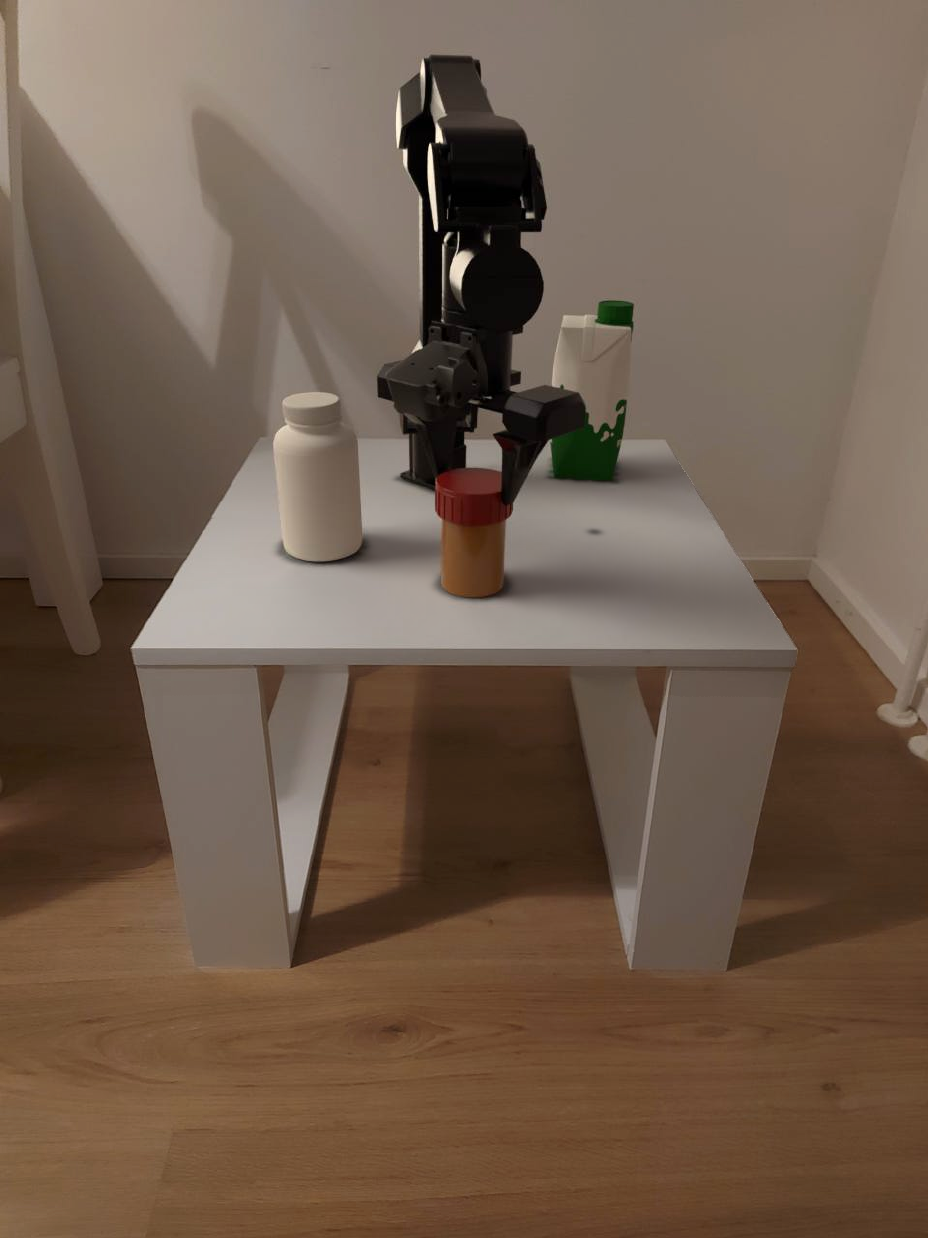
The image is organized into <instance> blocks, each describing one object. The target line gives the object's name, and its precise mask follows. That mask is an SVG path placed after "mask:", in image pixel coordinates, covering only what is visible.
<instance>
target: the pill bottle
mask: <svg viewBox="0 0 928 1238" xmlns="http://www.w3.org/2000/svg"><path fill="white" fill-rule="evenodd" d="M281 404H282V414H283V417H284V422H285V423H286V425H285V424H284V426H282V427H281V428H280V429H279V430H278V431H277V432H276V433H275V435H274V438H273V443H272V447H273V458H274V467H275V478H276V489H277V497H278V508H279V517H280V528H281V538H282V543H283V548H284V549H285V551H286V553H287V554H288V555H289V556H291V557H294V558H295V559H297V560H302V561H307V562H331V561H337V560H340V559H341V560H342V559H345V558H347V557H349V556H352V555H353V554H355V553H356V552H357V551H359V549H360V548H361V546H362V543H363V519H362V500H361V497H362V496H361V479H360V478H361V477H360V476H361V475H360V459H359V458H360V457H359V442H358V438H357V435H356V432H355V431H354V430H353V429H352V428H351V427H350V426H348V425H347V424H345V423H344V422H342V421H343V415H342V403H341V399H340V397H339V396H338V395H336V394H333V393H329V392H323V391H309V392H300V393H295V394H291V395H288V396H287V397H285V398H284V399H283V400H282V403H281Z"/></svg>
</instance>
